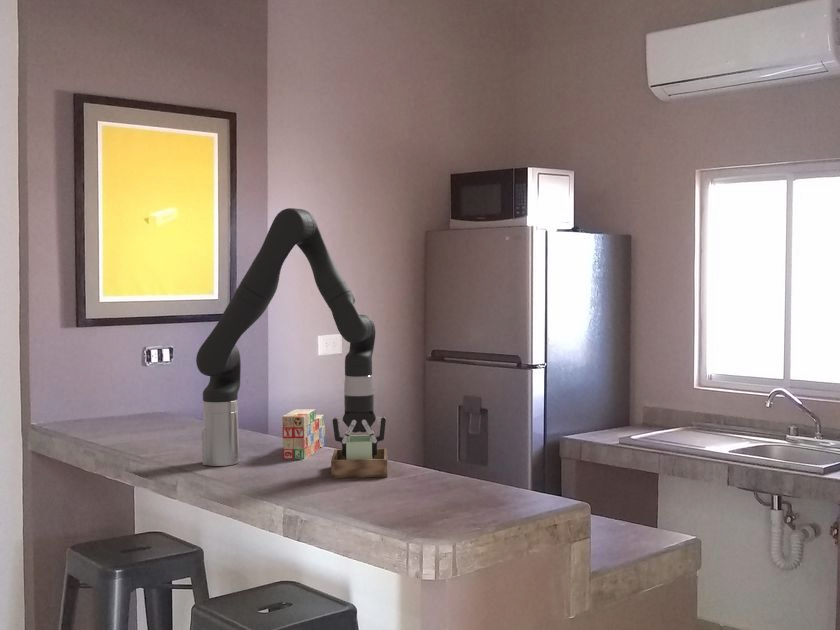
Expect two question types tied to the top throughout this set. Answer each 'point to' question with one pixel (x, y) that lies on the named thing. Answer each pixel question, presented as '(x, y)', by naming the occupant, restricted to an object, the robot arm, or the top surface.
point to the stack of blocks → (302, 433)
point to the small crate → (359, 447)
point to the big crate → (359, 465)
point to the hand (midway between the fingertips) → (359, 457)
